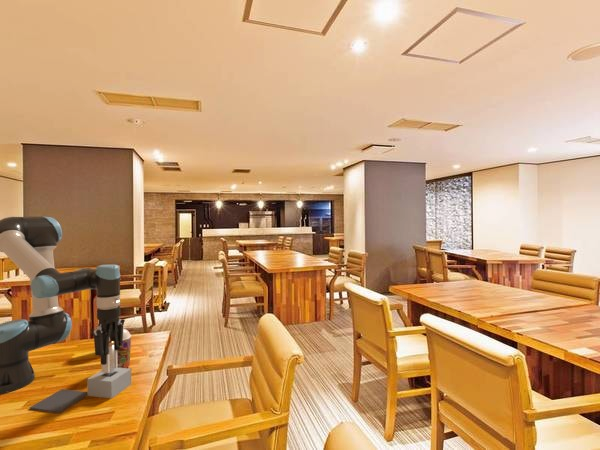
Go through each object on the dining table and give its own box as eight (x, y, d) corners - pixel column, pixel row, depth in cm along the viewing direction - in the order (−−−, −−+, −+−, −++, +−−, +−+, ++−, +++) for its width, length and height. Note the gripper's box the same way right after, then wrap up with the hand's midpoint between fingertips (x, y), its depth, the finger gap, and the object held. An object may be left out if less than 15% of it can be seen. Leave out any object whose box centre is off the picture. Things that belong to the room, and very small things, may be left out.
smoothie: (122, 375, 134) (121, 326, 134) (104, 373, 136) (103, 324, 135) (136, 366, 142) (135, 319, 142) (119, 364, 144) (118, 318, 143)
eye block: (87, 395, 119) (87, 379, 119) (108, 381, 129) (108, 366, 128) (111, 398, 117) (111, 381, 117) (131, 384, 127) (131, 368, 126)
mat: (29, 409, 110) (29, 407, 110) (61, 390, 122) (61, 389, 122) (59, 413, 108) (59, 411, 108) (89, 394, 120) (89, 392, 120)
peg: (103, 391, 121) (102, 343, 121) (109, 387, 125) (108, 339, 124) (110, 392, 121) (109, 343, 120) (117, 388, 124) (116, 340, 123)
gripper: (100, 313, 113) (101, 381, 114) (132, 301, 129) (133, 361, 130) (81, 312, 115) (82, 379, 115) (116, 300, 131) (117, 359, 131)
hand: (109, 369), depth 122 cm, fingers closed on peg, 3 cm apart
